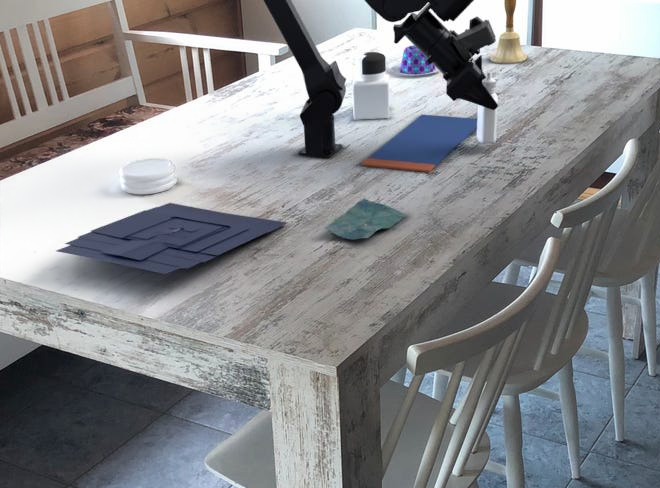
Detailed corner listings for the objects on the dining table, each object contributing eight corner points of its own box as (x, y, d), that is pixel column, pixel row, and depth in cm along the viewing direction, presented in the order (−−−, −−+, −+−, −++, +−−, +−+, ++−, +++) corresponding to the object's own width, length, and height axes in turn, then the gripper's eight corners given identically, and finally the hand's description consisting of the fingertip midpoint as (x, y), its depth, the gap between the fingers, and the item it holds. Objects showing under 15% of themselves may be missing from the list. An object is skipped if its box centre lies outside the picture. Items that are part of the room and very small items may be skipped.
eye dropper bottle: (469, 142, 188) (471, 75, 182) (480, 133, 192) (483, 67, 186) (491, 145, 186) (495, 77, 180) (503, 136, 190) (506, 69, 184)
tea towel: (429, 172, 181) (429, 170, 181) (360, 165, 187) (360, 163, 187) (484, 121, 203) (484, 119, 203) (421, 116, 209) (421, 114, 209)
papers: (47, 266, 156) (44, 243, 154) (169, 218, 178) (168, 197, 177) (177, 295, 144) (176, 270, 142) (290, 239, 167) (290, 217, 165)
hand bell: (512, 65, 236) (515, -9, 227) (482, 60, 241) (485, -12, 233) (534, 57, 240) (538, -16, 232) (504, 52, 246) (507, -19, 237)
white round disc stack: (126, 199, 181) (123, 179, 180) (117, 181, 190) (115, 162, 188) (182, 189, 183) (179, 170, 181) (171, 172, 192) (169, 153, 190)
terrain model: (364, 208, 169) (364, 197, 168) (407, 217, 165) (407, 206, 164) (323, 237, 160) (323, 226, 159) (367, 248, 156) (367, 236, 155)
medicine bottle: (389, 108, 215) (388, 48, 209) (389, 118, 209) (388, 57, 203) (354, 109, 216) (352, 50, 210) (353, 120, 210) (351, 59, 204)
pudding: (382, 69, 241) (382, 46, 239) (430, 61, 244) (430, 38, 241) (403, 81, 232) (403, 57, 229) (452, 73, 234) (453, 49, 231)
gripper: (468, 17, 169) (533, 84, 173) (469, -6, 185) (528, 56, 189) (419, 68, 175) (483, 131, 179) (423, 41, 190) (482, 100, 194)
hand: (495, 103), depth 185 cm, fingers closed on eye dropper bottle, 5 cm apart
